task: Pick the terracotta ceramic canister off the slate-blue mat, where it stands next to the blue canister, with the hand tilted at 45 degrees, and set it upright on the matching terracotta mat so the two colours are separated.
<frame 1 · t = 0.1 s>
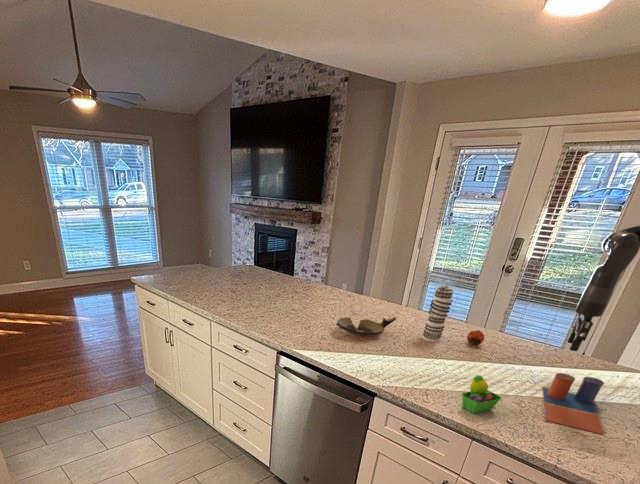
hand: (571, 346, 143), 20 cm above the countertop, tool pointing down, fingers open, 8 cm apart
fruit basket: (475, 408, 146), on the countertop
striped cylindrical tower: (431, 339, 204), on the countertop
blue canister: (583, 399, 153), resting on blue mat
terracotta canister: (555, 395, 155), resting on blue mat
blue mat: (567, 400, 153), on the countertop
terracotta mat: (571, 418, 142), on the countertop
pomegranate: (473, 345, 199), on the countertop
oil lamp: (364, 334, 206), on the countertop
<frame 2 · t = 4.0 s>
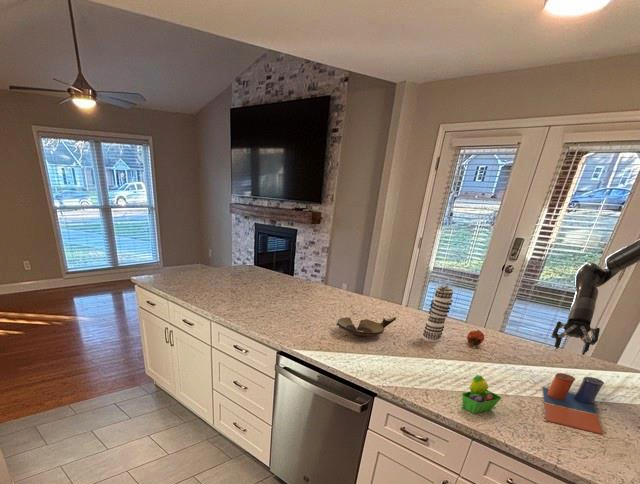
hand: (570, 350, 156), 15 cm above the countertop, tool tilted 45°, fingers open, 8 cm apart
nothing on the countertop moved.
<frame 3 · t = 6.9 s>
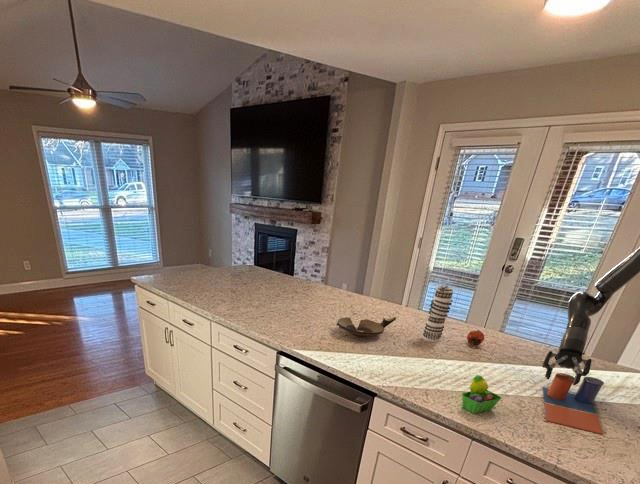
hand: (561, 381, 152), 6 cm above the countertop, tool tilted 45°, fingers open, 8 cm apart
nothing on the countertop moved.
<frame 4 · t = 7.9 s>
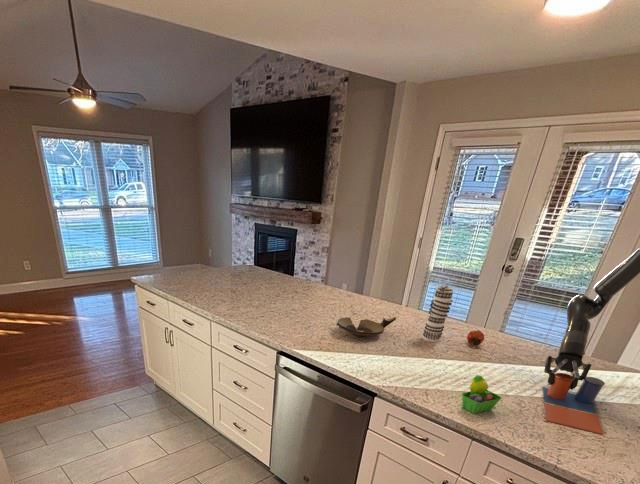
hand: (561, 386, 152), 5 cm above the countertop, tool tilted 45°, fingers closed on terracotta canister, 6 cm apart
blue canister: (583, 399, 153), resting on blue mat, touching hand
terracotta canister: (555, 395, 155), resting on blue mat, touching gripper
everything else where it was.
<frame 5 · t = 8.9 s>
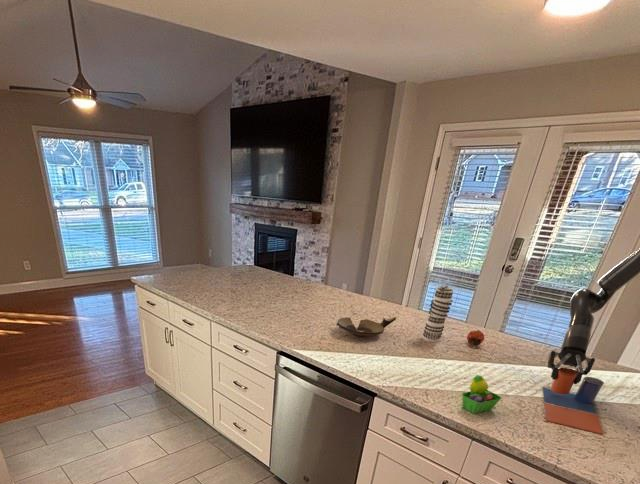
hand: (564, 380, 150), 7 cm above the countertop, tool tilted 45°, fingers closed on terracotta canister, 6 cm apart
blue canister: (583, 399, 153), resting on blue mat
terracotta canister: (559, 390, 154), point 3 cm above the countertop, touching gripper
everything else where it was.
when the fingers open (5 cm above the countertop, at t = 17.1 s): terracotta canister stays where it is, resting on terracotta mat.
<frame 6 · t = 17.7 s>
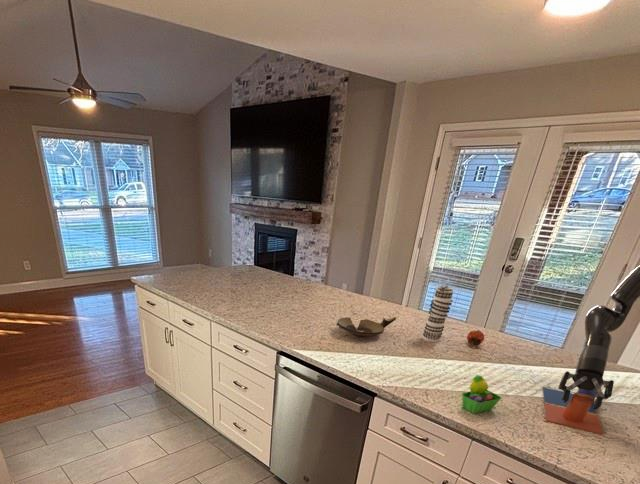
hand: (580, 405, 138), 6 cm above the countertop, tool tilted 45°, fingers open, 8 cm apart
terracotta canister: (572, 417, 142), resting on terracotta mat
everything else where it was.
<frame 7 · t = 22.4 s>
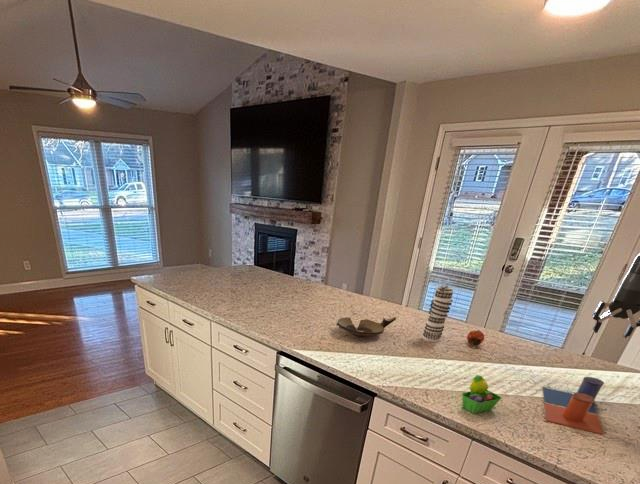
hand: (610, 334, 145), 24 cm above the countertop, tool pointing down, fingers open, 8 cm apart
nothing on the countertop moved.
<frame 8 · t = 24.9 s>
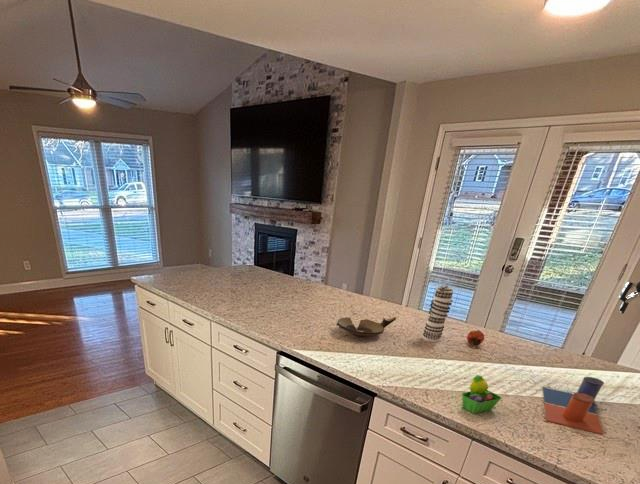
hand: (636, 315, 144), 30 cm above the countertop, tool pointing down, fingers open, 8 cm apart
nothing on the countertop moved.
at the end: terracotta canister inside the target area (0.1 cm from its centre), resting on terracotta mat; terracotta canister tilted 0°; blue canister moved 0.0 cm from its start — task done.
